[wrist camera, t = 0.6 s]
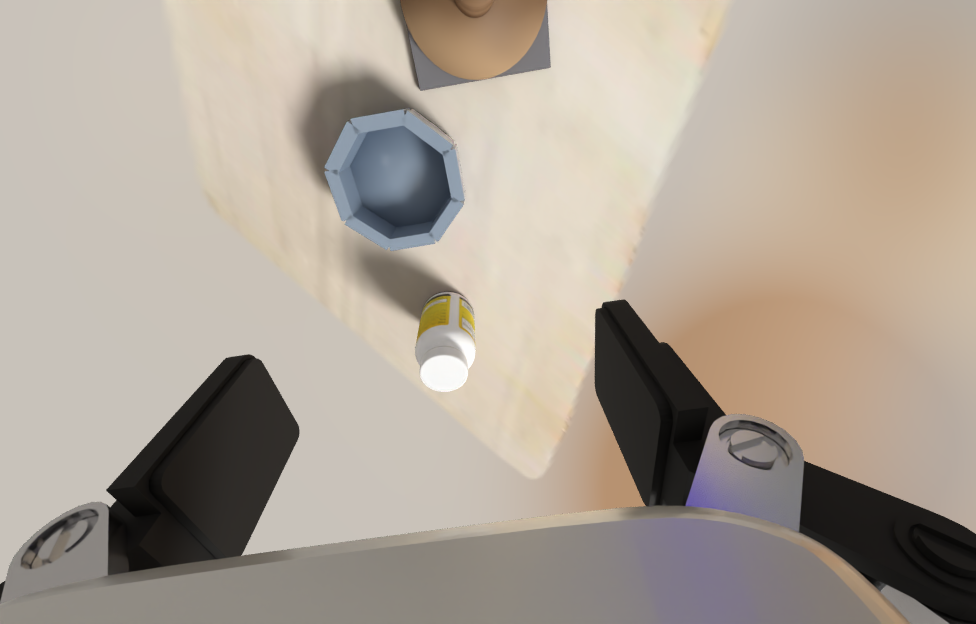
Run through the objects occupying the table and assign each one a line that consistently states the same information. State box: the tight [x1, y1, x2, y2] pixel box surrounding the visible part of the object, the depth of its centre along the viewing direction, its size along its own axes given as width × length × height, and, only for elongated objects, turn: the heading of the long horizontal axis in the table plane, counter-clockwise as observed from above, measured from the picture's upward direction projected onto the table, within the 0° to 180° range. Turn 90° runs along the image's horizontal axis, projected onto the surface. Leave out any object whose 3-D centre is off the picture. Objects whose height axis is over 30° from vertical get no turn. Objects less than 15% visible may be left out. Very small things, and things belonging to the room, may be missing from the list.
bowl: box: [324, 108, 465, 251], centre depth 30 cm, size 10×10×4 cm
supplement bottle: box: [415, 292, 476, 392], centre depth 35 cm, size 5×5×10 cm
